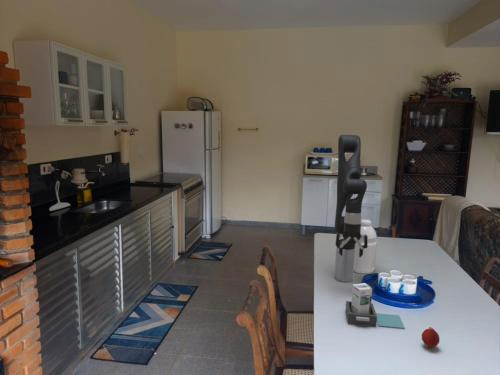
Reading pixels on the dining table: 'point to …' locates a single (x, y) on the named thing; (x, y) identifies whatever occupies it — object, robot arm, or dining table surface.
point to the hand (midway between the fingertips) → (350, 255)
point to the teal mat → (389, 321)
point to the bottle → (366, 250)
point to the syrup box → (361, 299)
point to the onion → (430, 337)
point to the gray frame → (361, 316)
